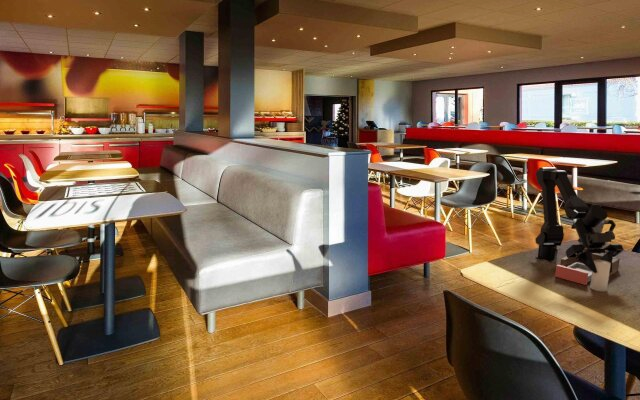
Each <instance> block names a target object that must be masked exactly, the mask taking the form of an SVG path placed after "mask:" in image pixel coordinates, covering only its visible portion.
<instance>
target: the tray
mask: <svg viewBox="0 0 640 400" xmlns="http://www.w3.org/2000/svg"><path fill="white" fill-rule="evenodd" d="M591 276H592V270H590V269H589V268H588V267H587V266H586V265H585V264H583V263H578V262H575V263H573V264H571V265H569V266H567V267H565V266H561V265H560V264H556V267H555V273H554V277H556V278H559V279H563V280H567V281H570V282H573V283H576V284H577V283H578V284H582V285H584V286H586V285H588V283H589V282H591Z"/></svg>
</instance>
